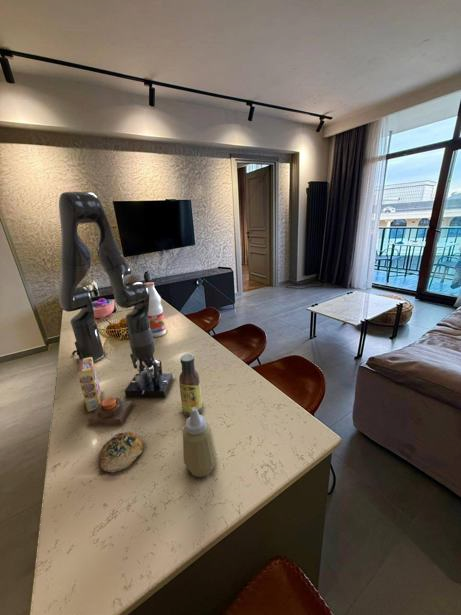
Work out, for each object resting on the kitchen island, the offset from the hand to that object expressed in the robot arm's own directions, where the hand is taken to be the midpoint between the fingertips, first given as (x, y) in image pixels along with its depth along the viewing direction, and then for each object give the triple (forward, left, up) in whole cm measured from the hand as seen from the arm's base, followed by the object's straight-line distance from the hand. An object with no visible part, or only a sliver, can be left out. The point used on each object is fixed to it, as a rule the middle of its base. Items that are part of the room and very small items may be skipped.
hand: (149, 381), depth 92 cm
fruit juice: (-13, +46, -3) cm, 48 cm away
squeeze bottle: (+24, -30, -3) cm, 38 cm away
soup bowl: (-59, +73, -3) cm, 94 cm away
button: (-8, -13, +1) cm, 15 cm away
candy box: (-17, -7, -3) cm, 19 cm away
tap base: (0, 0, -3) cm, 3 cm away
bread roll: (+2, -27, -3) cm, 27 cm away
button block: (-8, -13, -3) cm, 16 cm away
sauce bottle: (+18, -11, -3) cm, 21 cm away
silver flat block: (0, 0, 0) cm, 0 cm away
